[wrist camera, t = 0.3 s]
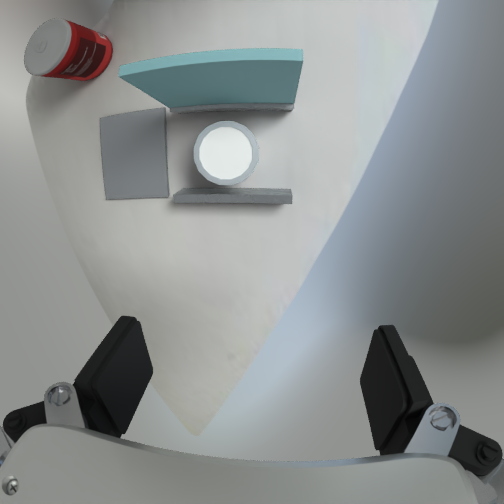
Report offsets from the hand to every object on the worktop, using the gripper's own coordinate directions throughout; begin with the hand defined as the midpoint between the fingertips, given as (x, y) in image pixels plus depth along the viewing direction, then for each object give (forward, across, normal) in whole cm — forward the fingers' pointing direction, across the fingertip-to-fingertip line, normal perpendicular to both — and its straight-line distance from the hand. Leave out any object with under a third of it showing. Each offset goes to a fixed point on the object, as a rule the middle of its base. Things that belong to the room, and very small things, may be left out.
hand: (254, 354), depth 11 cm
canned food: (+28, +25, -23) cm, 44 cm away
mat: (+28, +18, -6) cm, 34 cm away
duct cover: (+18, +4, -13) cm, 23 cm away
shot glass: (+29, +4, -6) cm, 30 cm away
